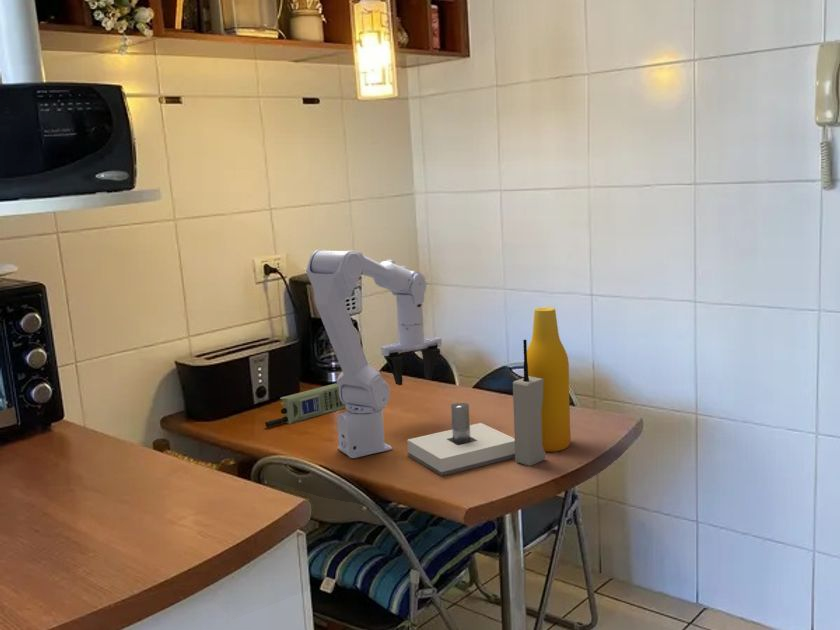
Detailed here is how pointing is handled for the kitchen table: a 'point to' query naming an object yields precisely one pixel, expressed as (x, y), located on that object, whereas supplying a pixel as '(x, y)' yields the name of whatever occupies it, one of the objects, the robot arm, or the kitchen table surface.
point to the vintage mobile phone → (528, 417)
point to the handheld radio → (309, 404)
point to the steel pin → (460, 423)
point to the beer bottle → (551, 379)
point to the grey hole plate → (461, 449)
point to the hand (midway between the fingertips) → (413, 381)
